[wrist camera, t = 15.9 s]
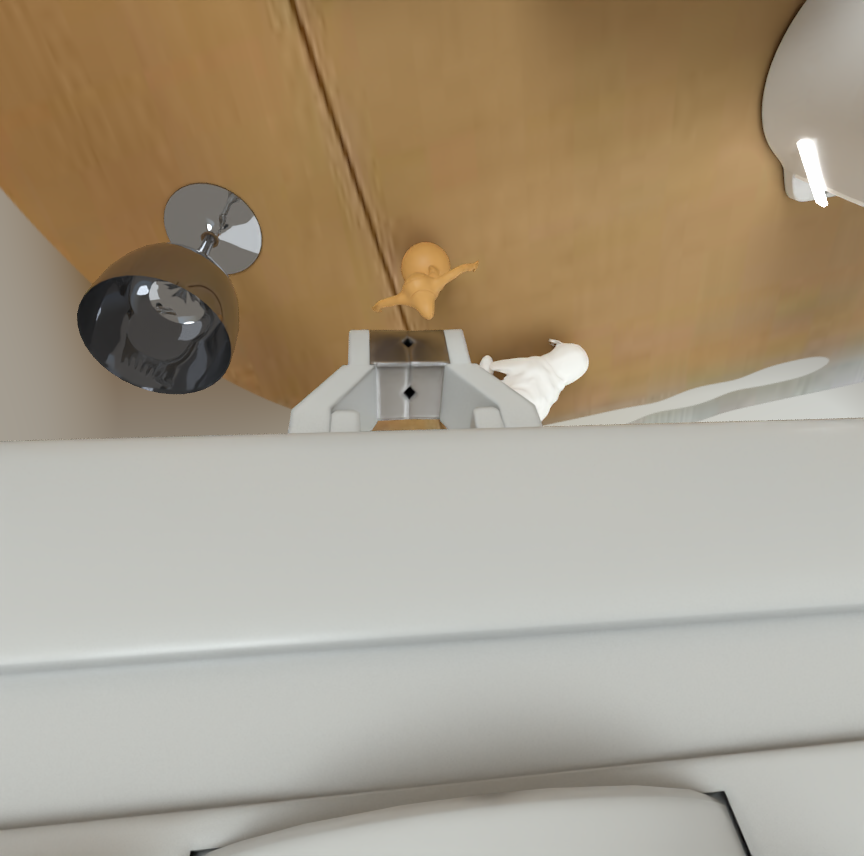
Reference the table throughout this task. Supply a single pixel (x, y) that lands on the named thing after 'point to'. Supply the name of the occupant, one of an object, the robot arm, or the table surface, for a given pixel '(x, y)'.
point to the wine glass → (175, 296)
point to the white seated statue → (542, 373)
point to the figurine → (424, 278)
